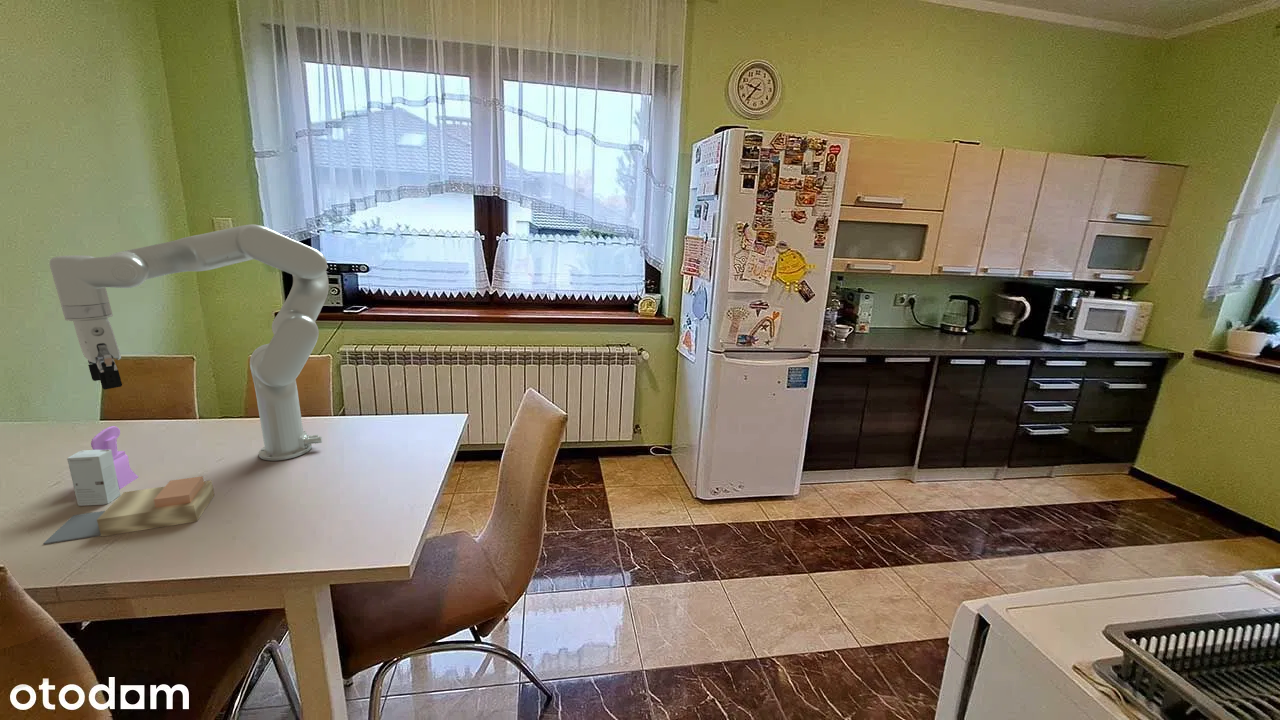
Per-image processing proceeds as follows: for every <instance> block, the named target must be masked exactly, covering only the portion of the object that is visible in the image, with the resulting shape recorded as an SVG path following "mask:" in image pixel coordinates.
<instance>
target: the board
mask: <svg viewBox="0 0 1280 720" xmlns="http://www.w3.org/2000/svg"><path fill="white" fill-rule="evenodd" d="M164 487H165V486H159V487H151V488H145V489H139V490H138V489H137V490H129V491H124V492H123V493H121V494H120V496H119V497H118V498H116V499H115V500H114V501H113V503H112V504H111V505H110V506H109V507H108V508H106V510H104V511H105V512H104V513H103V514H102V515H101V516H100V517H99V518H98V519H97V522H98V526H99V530H100V533H101V537H107V536H112V535H113V536H114V535H119V534H120V535H121V534H125V533H132V532H139V531H144V530H152V529H157V528H163V527H164V528H165V527H169V526H176V525H183V524H189V523H195V522H198V521H199V519H200V518H201V517H202V515H203V513H204V512H205V511H206V509H207V507H208V506H209V504H210V503H211V501H212V500H213V498H214V497H215V491H214V485H213V481H212V480H205V481H204V485H203V486H202V488H201V489H200V490H199V492H198V493H197V495H196V496H195V497H194V499H193V500H192V501H191V503H186V504H179V505H172V506H165V507H158V508H156V507H155V503H154V499H155V498H156V497H157V495H158V494H159V493H160V492H161V491H162V490H163V488H164Z"/></svg>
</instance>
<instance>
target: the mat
mask: <svg viewBox="0 0 1280 720" xmlns="http://www.w3.org/2000/svg"><path fill="white" fill-rule="evenodd" d="M105 511H106V510H101V511H95V512H87V513H80V514H73V515H72V516H71V517H69V518H68V520H66V522H65V523H64V524H62V526H60V527H59V528H58V529H57V530H56V531H55V532H54V533H53V534H51V536H50V537H48V538H47V539H46V540H45V541H44V542H43V545H48V544H49V545H51V544H56V543H61V542H68V541H73V540H74V541H75V540H82V539H87V538H93V537H94V538H95V537H99V536H101V533H100V530H99V526H98V522H97V519H98V518H99V517H100V516H101V515H102V514H103V513H104V512H105Z"/></svg>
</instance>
